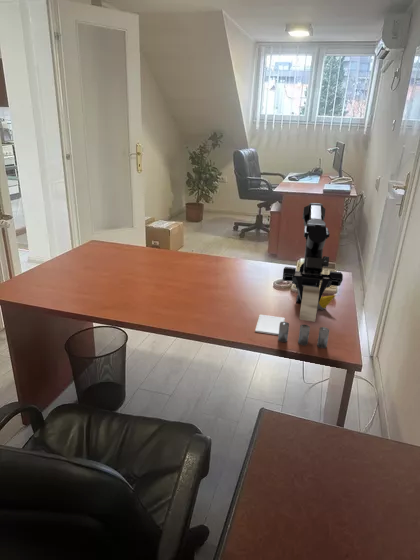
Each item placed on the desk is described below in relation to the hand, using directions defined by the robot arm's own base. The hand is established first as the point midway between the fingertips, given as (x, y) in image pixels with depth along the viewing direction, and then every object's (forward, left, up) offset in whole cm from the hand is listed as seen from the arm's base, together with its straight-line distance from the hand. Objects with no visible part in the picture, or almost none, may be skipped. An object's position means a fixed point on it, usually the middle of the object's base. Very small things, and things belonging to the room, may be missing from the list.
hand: (309, 300), depth 127 cm
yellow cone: (-23, +6, -14) cm, 28 cm away
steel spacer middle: (+4, -1, -13) cm, 14 cm away
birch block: (-1, 0, -7) cm, 7 cm away
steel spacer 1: (+4, -7, -13) cm, 16 cm away
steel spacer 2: (+4, +5, -13) cm, 15 cm away
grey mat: (-4, -12, -13) cm, 19 cm away
